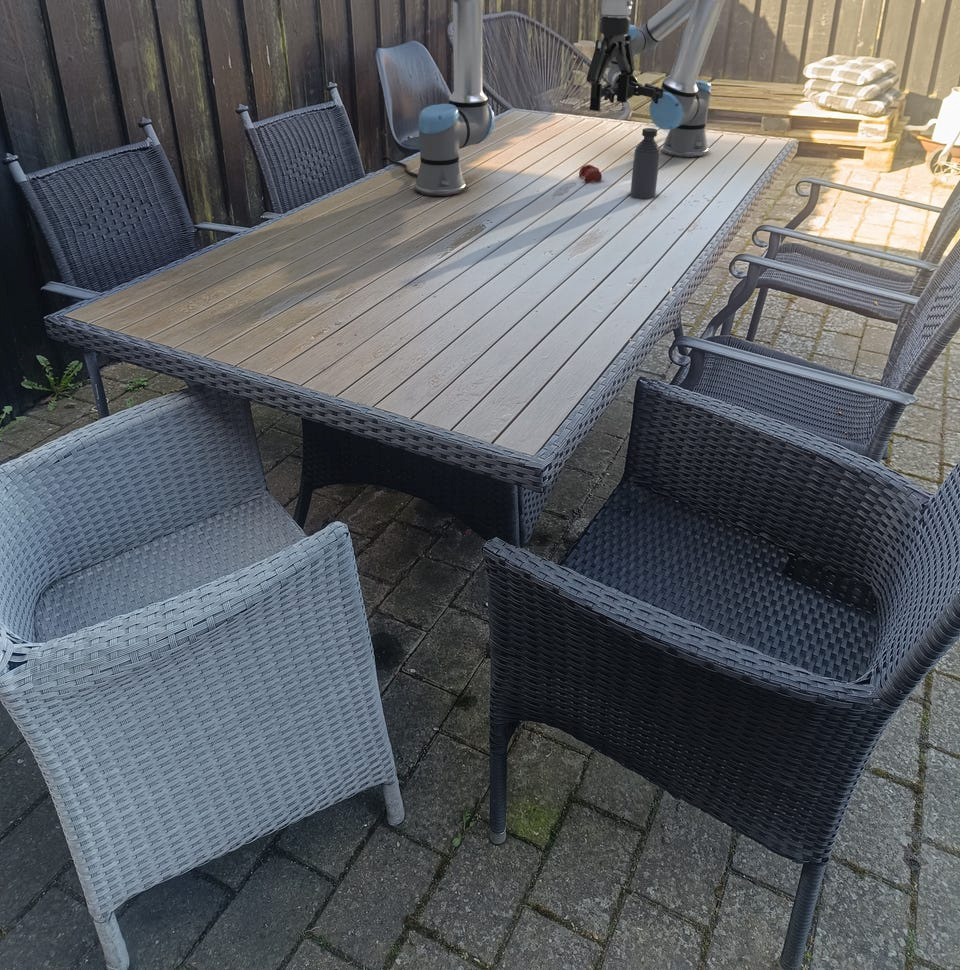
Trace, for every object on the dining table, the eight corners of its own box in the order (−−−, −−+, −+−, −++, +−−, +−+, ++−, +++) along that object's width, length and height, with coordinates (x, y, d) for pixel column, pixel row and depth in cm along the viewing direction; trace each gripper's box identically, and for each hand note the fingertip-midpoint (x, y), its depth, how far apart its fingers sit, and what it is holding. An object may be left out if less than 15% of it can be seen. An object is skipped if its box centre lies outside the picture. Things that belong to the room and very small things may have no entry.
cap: (644, 133, 246) (644, 127, 246) (658, 134, 245) (659, 128, 244) (640, 136, 243) (640, 130, 242) (654, 137, 242) (655, 132, 241)
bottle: (634, 190, 258) (640, 127, 248) (658, 193, 256) (665, 129, 245) (627, 196, 253) (633, 132, 242) (651, 200, 250) (658, 135, 240)
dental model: (594, 161, 269) (603, 168, 262) (593, 174, 271) (602, 181, 265) (577, 162, 268) (586, 169, 261) (577, 176, 270) (586, 183, 264)
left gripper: (602, 22, 204) (595, 116, 216) (653, 12, 219) (644, 100, 232) (576, 19, 207) (570, 112, 220) (628, 10, 223) (620, 96, 236)
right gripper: (660, 97, 277) (673, 112, 260) (585, 95, 277) (593, 111, 260) (664, 72, 273) (677, 85, 256) (587, 70, 272) (595, 84, 255)
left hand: (608, 106), depth 226 cm, fingers open, 13 cm apart
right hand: (634, 98), depth 258 cm, fingers open, 13 cm apart
